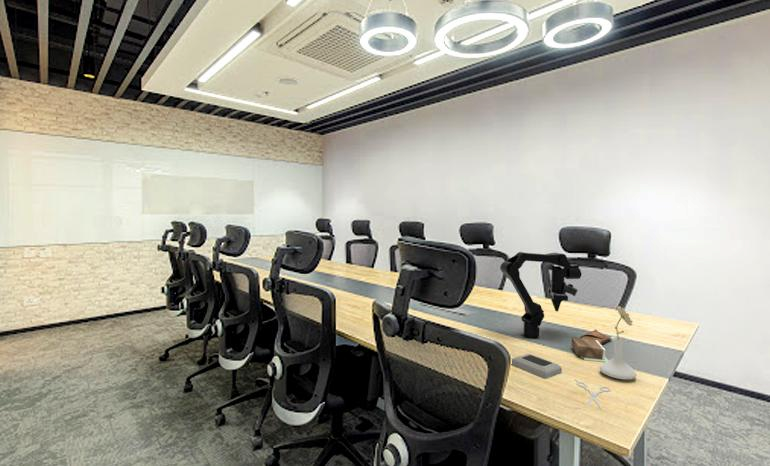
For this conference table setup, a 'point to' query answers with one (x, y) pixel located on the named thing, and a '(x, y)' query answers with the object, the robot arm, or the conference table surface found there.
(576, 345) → the walnut block
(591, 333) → the sunglasses case
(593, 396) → the scissors
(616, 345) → the flower in vase
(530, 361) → the grey flat block
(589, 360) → the mat
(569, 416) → the conference table surface
